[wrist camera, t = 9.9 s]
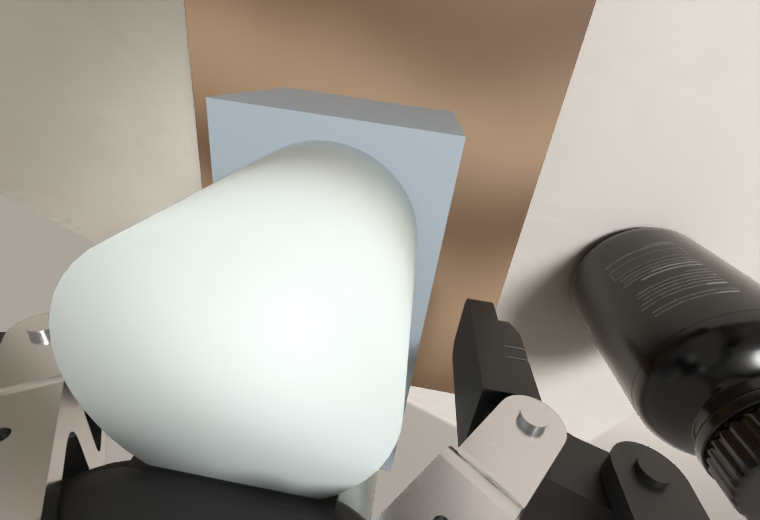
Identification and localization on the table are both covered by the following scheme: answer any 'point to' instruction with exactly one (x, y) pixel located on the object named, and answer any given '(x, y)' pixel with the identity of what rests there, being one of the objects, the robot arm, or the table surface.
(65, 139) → the table surface
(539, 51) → the walnut shelf
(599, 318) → the supplement bottle
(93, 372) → the salt and pepper set
